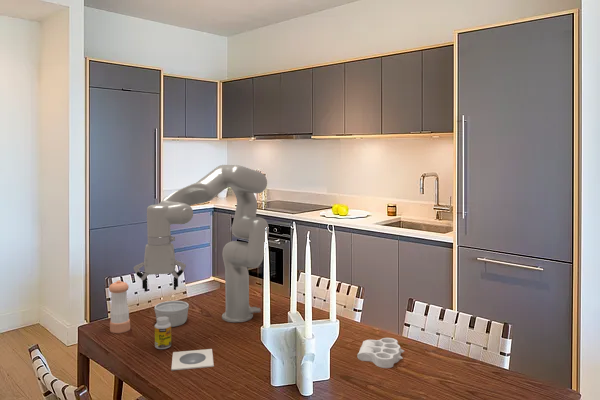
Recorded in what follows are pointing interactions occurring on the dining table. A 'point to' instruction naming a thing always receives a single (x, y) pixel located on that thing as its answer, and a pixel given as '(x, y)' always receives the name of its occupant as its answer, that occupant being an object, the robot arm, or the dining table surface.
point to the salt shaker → (119, 307)
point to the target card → (192, 359)
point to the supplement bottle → (162, 333)
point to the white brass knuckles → (381, 352)
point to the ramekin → (173, 311)
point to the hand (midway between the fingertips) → (160, 289)
